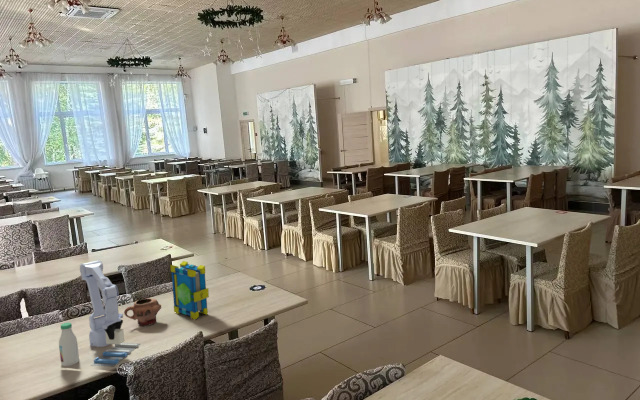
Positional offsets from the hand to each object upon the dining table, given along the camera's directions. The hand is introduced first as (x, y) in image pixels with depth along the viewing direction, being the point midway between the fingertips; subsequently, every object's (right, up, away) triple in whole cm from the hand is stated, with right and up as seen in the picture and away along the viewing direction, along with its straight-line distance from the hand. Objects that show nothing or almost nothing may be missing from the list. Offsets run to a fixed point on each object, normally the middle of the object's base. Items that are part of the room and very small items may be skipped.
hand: (114, 337), depth 234 cm
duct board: (0, -10, +2) cm, 10 cm away
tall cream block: (0, -3, 0) cm, 3 cm away
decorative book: (+22, -2, +55) cm, 59 cm away
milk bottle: (-19, -12, -4) cm, 23 cm away
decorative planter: (0, -4, +40) cm, 41 cm away
